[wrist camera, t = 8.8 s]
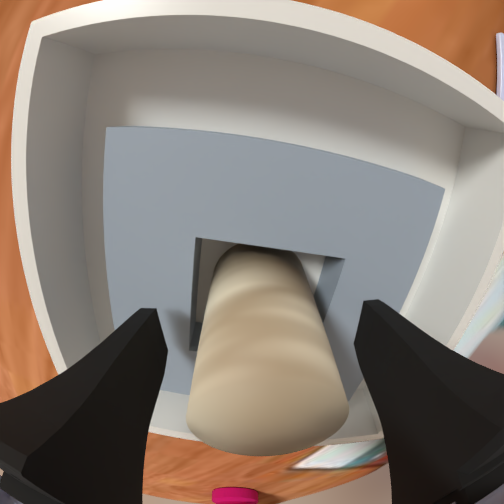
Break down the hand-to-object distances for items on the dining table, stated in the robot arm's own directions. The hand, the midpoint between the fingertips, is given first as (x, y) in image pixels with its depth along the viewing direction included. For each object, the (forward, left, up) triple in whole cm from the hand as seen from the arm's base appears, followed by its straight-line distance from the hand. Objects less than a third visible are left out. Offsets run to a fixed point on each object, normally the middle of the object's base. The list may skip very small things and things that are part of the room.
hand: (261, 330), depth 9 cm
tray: (0, -1, -4) cm, 4 cm away
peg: (0, 0, -3) cm, 3 cm away
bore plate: (0, 0, -4) cm, 4 cm away
